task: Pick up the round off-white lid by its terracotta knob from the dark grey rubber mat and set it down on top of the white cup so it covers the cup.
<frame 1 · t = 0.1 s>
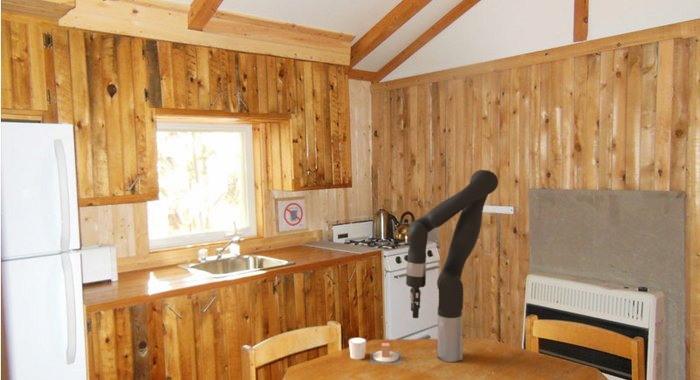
hand: (414, 314, 197), 17 cm above the table, tool pointing down, fingers open, 8 cm apart
white cup: (357, 358, 199), on the table
mat: (385, 358, 197), on the table
lid: (385, 357, 197), resting on mat
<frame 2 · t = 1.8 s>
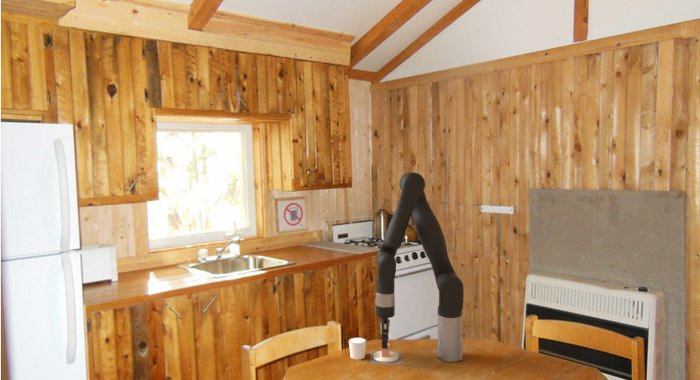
hand: (384, 344, 197), 6 cm above the table, tool pointing down, fingers open, 8 cm apart
nothing on the table moved.
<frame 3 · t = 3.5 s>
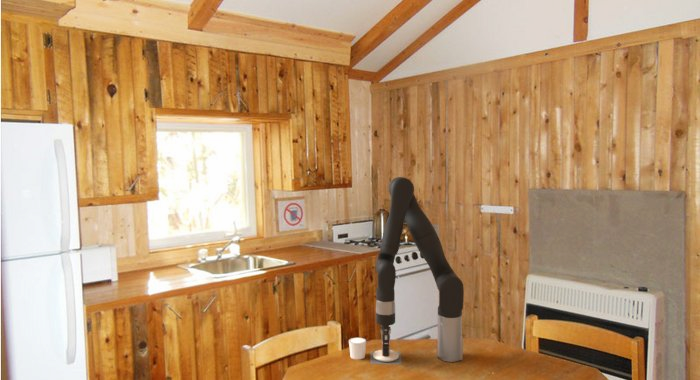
hand: (385, 354, 197), 2 cm above the table, tool pointing down, fingers closed on lid, 3 cm apart
lid: (385, 356, 197), point 1 cm above the table, touching gripper
everything else where it was.
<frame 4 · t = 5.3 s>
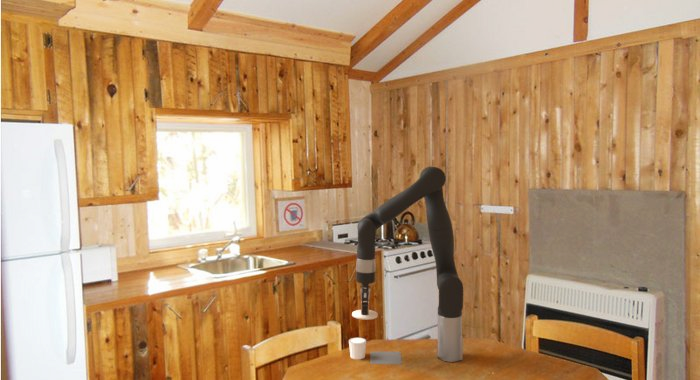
hand: (364, 313, 197), 18 cm above the table, tool pointing down, fingers closed on lid, 3 cm apart
lid: (364, 315, 197), point 17 cm above the table, touching gripper
everything else where it was.
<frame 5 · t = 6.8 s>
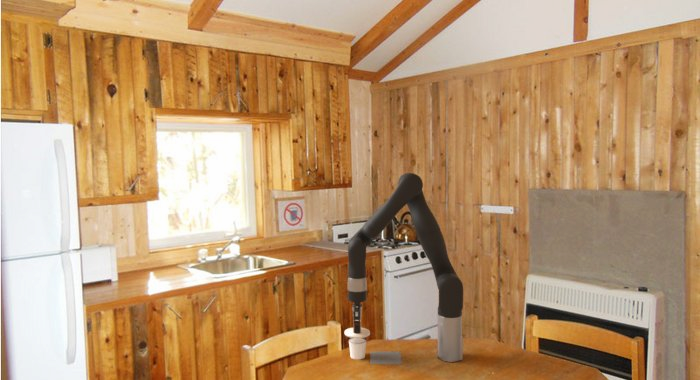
hand: (357, 331, 198), 11 cm above the table, tool pointing down, fingers closed on lid, 3 cm apart
lid: (357, 333, 198), point 10 cm above the table, touching gripper
everything else where it was.
when the fingers open (10 cm above the table, at t = 7.6 s): lid drops 2 cm, resting on white cup.
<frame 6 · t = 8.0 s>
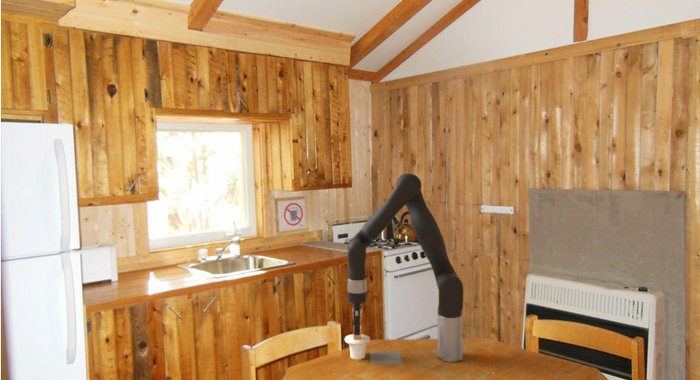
hand: (357, 331, 198), 11 cm above the table, tool pointing down, fingers open, 7 cm apart
white cup: (357, 358, 199), on the table, touching lid
lid: (357, 340, 198), point 7 cm above the table, touching white cup
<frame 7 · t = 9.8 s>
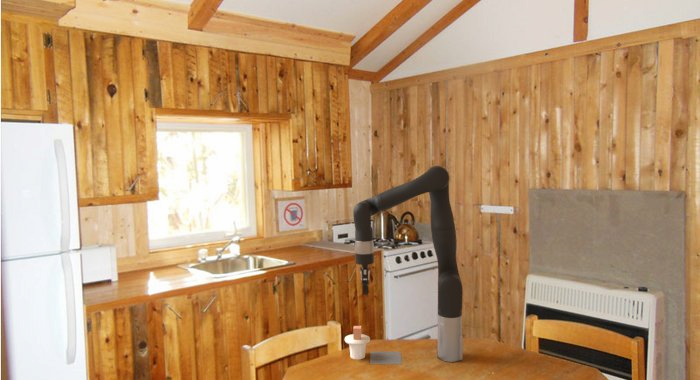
hand: (365, 291, 202), 25 cm above the table, tool pointing down, fingers open, 8 cm apart
nothing on the table moved.
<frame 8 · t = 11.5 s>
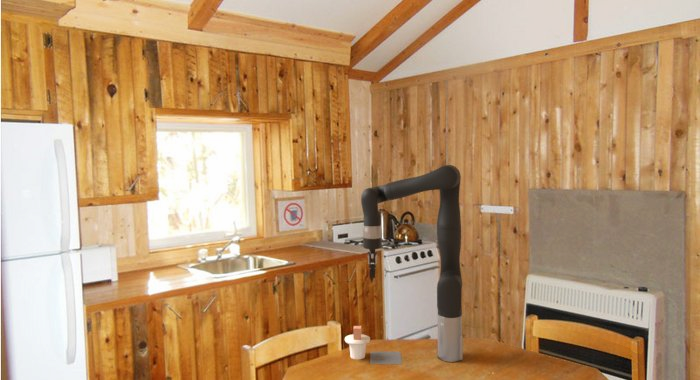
hand: (372, 275, 207), 30 cm above the table, tool pointing down, fingers open, 8 cm apart
nothing on the table moved.
at the end: lid 0.1 cm off-centre on the white cup, point 7.2 cm above the white cup's base; lid tilted 0°; white cup tilted 0° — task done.
